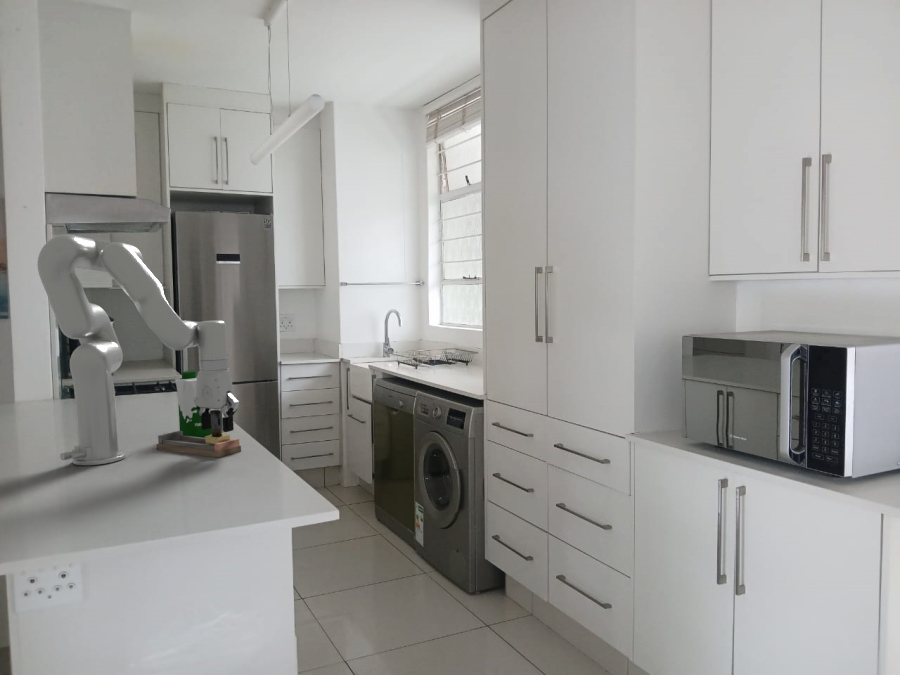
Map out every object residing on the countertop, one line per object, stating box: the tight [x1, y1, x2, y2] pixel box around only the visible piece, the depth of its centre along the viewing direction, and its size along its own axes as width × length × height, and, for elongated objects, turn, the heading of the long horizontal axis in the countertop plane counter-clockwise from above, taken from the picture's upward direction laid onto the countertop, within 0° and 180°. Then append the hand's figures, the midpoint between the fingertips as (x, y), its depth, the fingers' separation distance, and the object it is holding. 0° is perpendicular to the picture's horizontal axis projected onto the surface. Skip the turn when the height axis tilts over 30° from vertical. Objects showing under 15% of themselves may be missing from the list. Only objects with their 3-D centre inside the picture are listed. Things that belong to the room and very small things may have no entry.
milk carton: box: [174, 370, 212, 438], centre depth 212 cm, size 9×9×20 cm
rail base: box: [155, 430, 242, 458], centre depth 194 cm, size 8×25×4 cm, turn 60°
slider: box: [204, 409, 231, 445], centre depth 189 cm, size 4×5×10 cm
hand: (217, 429), depth 189 cm, fingers open, 7 cm apart
